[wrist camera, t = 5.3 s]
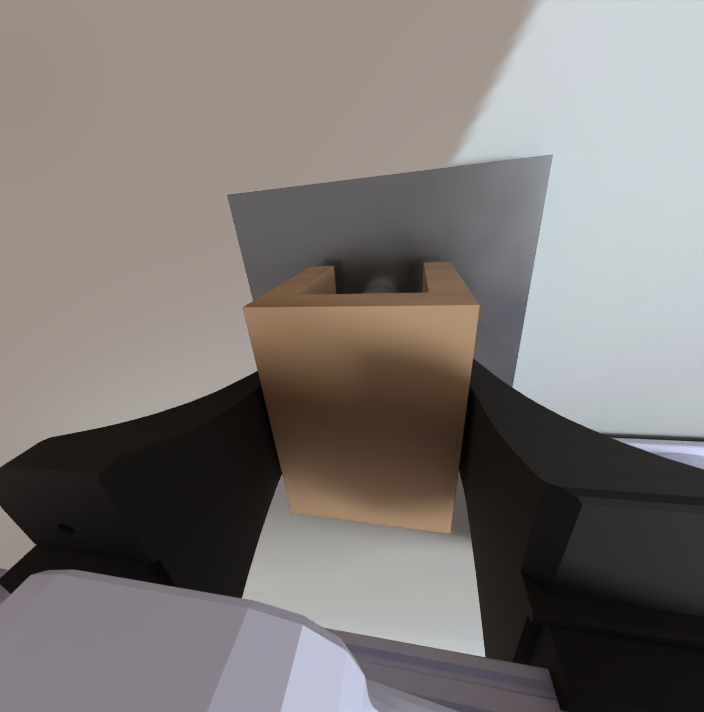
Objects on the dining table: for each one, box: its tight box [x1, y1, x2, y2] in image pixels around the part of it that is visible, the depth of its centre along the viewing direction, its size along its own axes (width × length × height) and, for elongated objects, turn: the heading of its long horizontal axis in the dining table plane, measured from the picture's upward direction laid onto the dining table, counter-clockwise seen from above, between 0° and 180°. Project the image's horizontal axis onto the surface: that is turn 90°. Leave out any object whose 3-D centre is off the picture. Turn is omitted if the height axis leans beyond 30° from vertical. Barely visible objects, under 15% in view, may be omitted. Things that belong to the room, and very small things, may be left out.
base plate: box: [227, 155, 553, 387], centre depth 12 cm, size 13×11×4 cm
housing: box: [243, 261, 480, 534], centre depth 10 cm, size 7×5×5 cm
